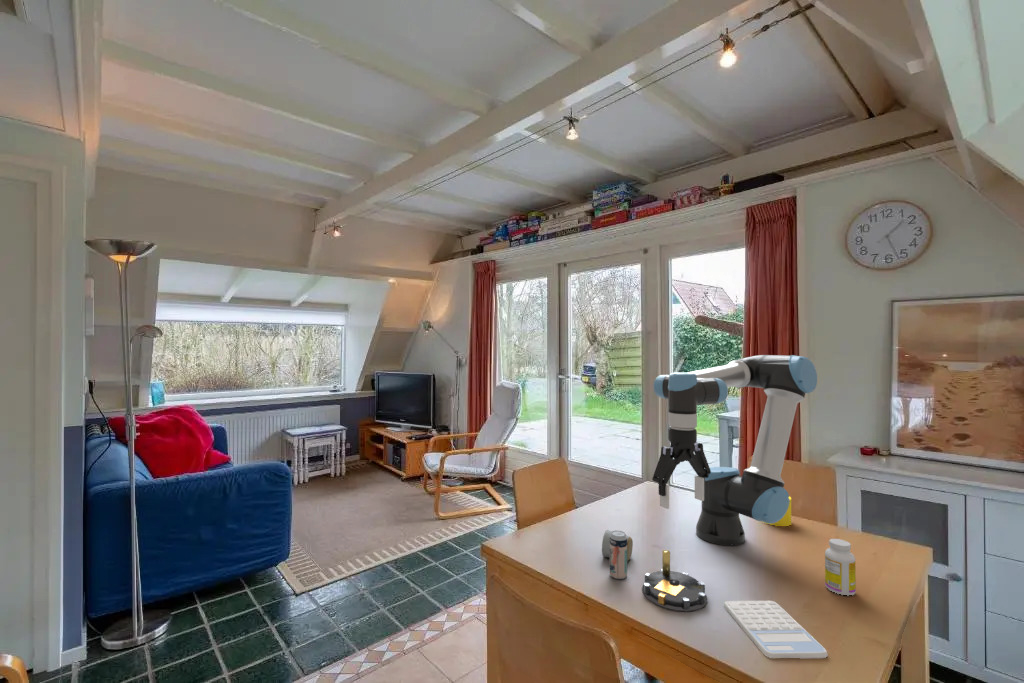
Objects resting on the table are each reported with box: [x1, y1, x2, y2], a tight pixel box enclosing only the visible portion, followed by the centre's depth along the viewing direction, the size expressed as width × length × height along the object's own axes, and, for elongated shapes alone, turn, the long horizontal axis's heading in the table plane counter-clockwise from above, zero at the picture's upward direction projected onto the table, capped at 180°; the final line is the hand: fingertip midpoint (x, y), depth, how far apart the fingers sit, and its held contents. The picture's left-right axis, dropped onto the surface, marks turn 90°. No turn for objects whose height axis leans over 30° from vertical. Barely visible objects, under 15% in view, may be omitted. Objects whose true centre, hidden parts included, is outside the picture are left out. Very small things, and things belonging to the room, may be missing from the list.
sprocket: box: [643, 549, 707, 609], centre depth 122 cm, size 16×16×8 cm
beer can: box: [609, 530, 628, 580], centre depth 131 cm, size 5×5×12 cm
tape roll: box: [764, 495, 792, 527], centre depth 171 cm, size 10×10×9 cm
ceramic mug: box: [601, 529, 634, 562], centre depth 144 cm, size 11×8×8 cm
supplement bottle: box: [824, 538, 857, 597], centre depth 124 cm, size 7×7×13 cm
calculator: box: [723, 600, 829, 659], centre depth 107 cm, size 13×20×2 cm, turn 1°
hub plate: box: [642, 581, 708, 613], centre depth 122 cm, size 16×16×1 cm
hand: (682, 503), depth 131 cm, fingers open, 13 cm apart
